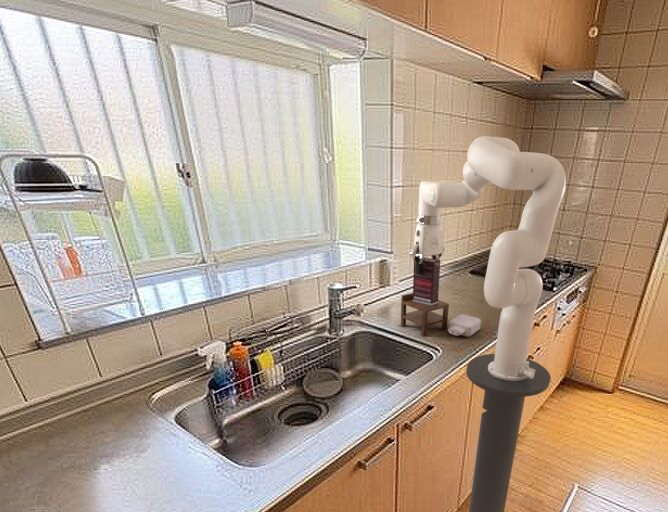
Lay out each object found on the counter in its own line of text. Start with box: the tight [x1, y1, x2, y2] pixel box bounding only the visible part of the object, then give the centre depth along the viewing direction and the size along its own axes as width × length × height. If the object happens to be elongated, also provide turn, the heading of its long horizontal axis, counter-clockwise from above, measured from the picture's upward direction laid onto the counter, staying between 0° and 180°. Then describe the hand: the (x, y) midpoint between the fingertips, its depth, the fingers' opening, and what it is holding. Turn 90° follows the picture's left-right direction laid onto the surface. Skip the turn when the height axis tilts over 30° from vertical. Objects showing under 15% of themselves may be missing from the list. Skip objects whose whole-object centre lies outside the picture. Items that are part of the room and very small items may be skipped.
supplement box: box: [412, 256, 441, 306], centre depth 151 cm, size 9×5×16 cm, turn 59°
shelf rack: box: [400, 292, 450, 337], centre depth 156 cm, size 13×12×12 cm
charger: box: [447, 313, 482, 338], centre depth 155 cm, size 5×9×15 cm
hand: (426, 272), depth 150 cm, fingers open, 6 cm apart
